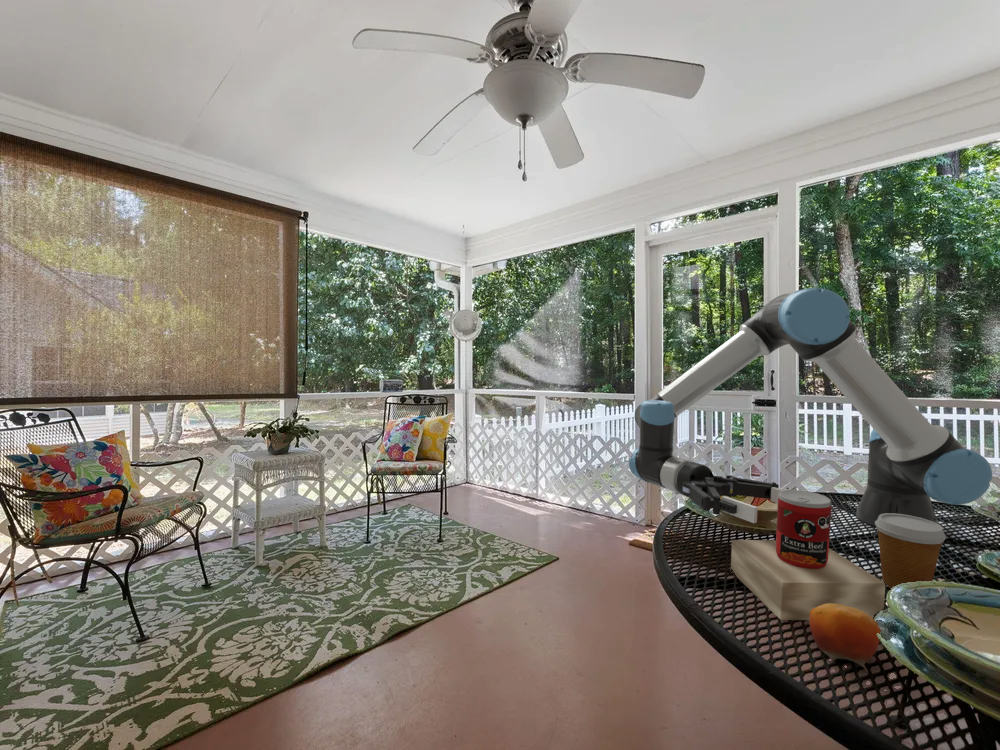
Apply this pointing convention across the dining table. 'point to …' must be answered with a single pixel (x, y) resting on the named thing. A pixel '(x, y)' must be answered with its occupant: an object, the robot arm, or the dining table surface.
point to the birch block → (803, 581)
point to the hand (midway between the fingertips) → (781, 509)
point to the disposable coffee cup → (908, 548)
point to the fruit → (844, 632)
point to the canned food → (803, 528)
